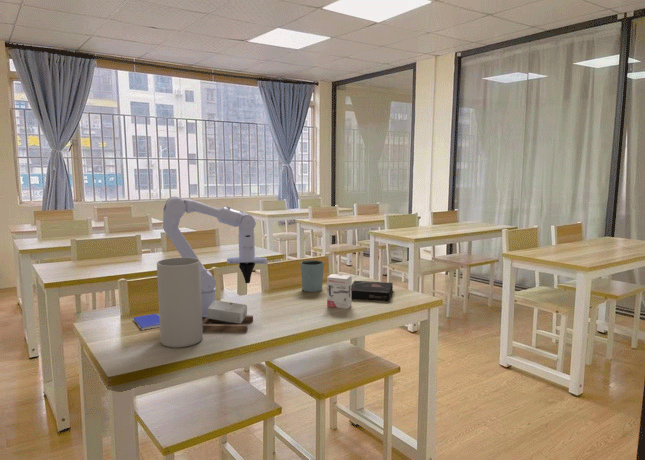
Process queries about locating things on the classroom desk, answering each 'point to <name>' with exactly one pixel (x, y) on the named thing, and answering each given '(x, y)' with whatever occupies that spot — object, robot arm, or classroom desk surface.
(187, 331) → the cylinder vase
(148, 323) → the hard drive
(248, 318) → the u rest
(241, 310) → the skincare box
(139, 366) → the classroom desk surface
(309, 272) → the teal cup
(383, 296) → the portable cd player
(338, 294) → the ink box
